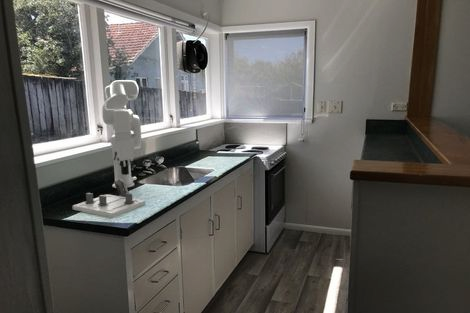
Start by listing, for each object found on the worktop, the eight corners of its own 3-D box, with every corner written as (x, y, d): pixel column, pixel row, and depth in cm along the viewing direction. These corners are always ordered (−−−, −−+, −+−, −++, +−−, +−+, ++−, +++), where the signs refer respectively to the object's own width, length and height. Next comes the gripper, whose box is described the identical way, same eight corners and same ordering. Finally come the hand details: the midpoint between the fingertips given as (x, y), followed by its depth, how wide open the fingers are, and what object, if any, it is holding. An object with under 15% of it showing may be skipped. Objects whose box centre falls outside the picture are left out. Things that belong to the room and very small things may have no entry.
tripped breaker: (128, 201, 183) (127, 192, 182) (134, 202, 181) (133, 193, 180) (123, 202, 180) (123, 194, 179) (130, 203, 178) (129, 195, 177)
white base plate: (107, 197, 197) (107, 194, 196) (145, 204, 185) (145, 200, 185) (72, 209, 178) (72, 205, 177) (112, 217, 166) (112, 213, 165)
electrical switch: (130, 196, 199) (127, 180, 197) (120, 199, 196) (117, 182, 194) (125, 193, 207) (122, 177, 205) (116, 195, 204) (113, 179, 202)
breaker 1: (89, 200, 184) (88, 192, 183) (95, 201, 182) (94, 193, 181) (84, 202, 181) (83, 193, 180) (90, 203, 179) (89, 194, 178)
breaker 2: (102, 203, 180) (101, 194, 179) (108, 204, 178) (107, 195, 177) (97, 204, 177) (97, 195, 176) (103, 206, 175) (103, 196, 174)
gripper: (128, 134, 182) (130, 170, 185) (104, 137, 169) (107, 176, 172) (140, 135, 178) (141, 172, 181) (116, 138, 165) (119, 178, 168)
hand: (125, 174), depth 177 cm, fingers closed
